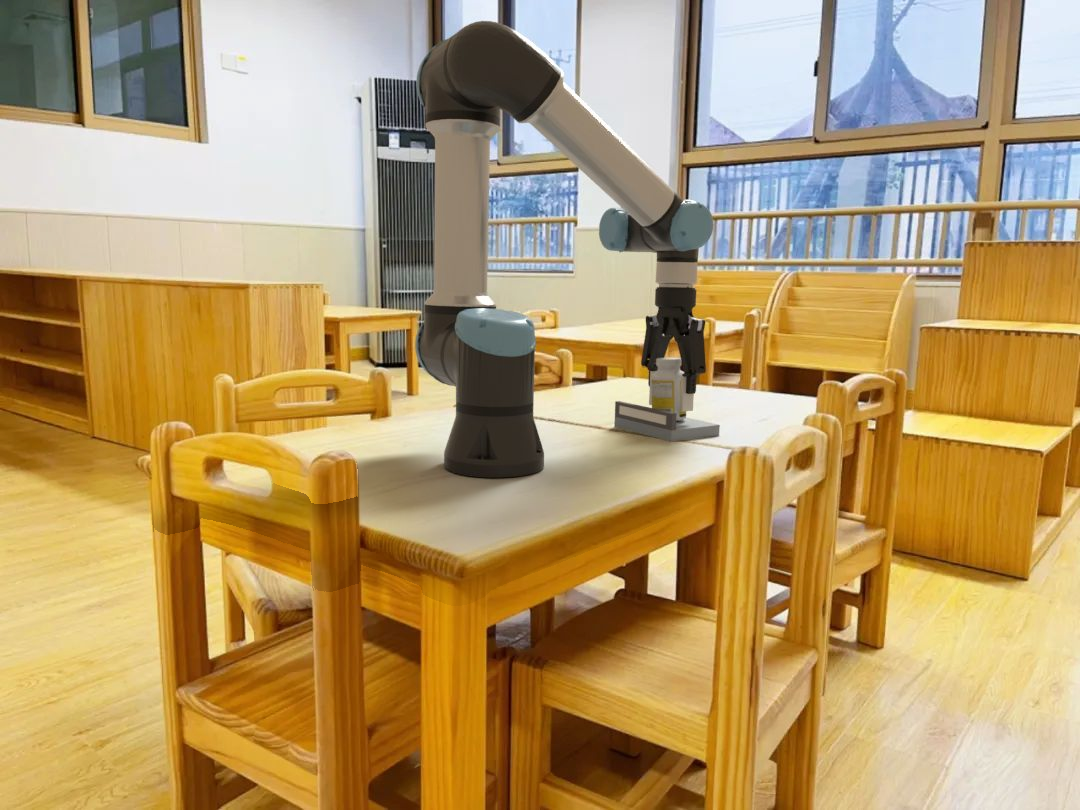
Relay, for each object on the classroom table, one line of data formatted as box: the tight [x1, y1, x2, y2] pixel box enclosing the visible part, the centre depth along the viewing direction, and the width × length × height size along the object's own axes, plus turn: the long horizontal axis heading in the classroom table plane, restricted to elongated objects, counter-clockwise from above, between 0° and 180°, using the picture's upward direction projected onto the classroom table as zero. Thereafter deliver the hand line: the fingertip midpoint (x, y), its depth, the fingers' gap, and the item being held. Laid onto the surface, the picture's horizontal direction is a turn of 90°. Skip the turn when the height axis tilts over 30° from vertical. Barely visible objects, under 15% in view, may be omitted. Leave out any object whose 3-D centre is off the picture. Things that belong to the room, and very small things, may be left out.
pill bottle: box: [651, 357, 687, 421], centre depth 153 cm, size 6×6×12 cm
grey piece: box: [614, 400, 721, 442], centre depth 153 cm, size 12×16×5 cm
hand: (670, 407), depth 154 cm, fingers open, 8 cm apart
